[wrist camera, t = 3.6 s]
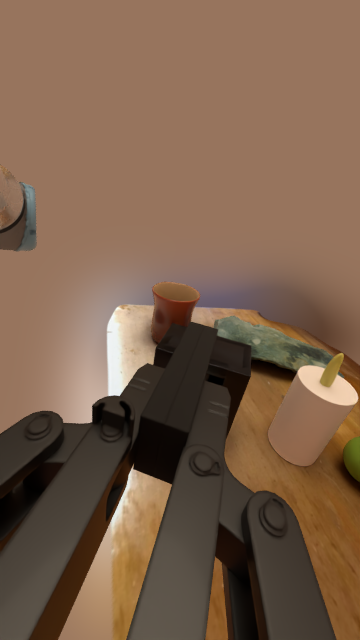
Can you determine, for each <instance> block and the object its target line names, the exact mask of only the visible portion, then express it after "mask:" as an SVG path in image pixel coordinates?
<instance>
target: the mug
mask: <svg viewBox="0 0 360 640" xmlns="http://www.w3.org/2000/svg"><path fill="white" fill-rule="evenodd" d="M152 291H153V296H154V302H155V303H154V312H153V318H152V324H151V332H152V337H153V339H154V340H155V341H156V342H158V343H159V342H160V341H161V339H162V338H163V336H164V335H165V333H166V332H167V330H168V329H169V327H170V326H171V324H172V323H174V324H178V325H181V326H185V327H188V325H189V323H190V322H191V317H192V312H193V310H194V307H195V305H196V304H197V302H198V300H199V298H200V294H199V292H198V291H197V290H195V289H194V288H192V287H190V286H187V285H184V284H180V283H174V282H161V283H158V284H156V285H154V286H153V289H152Z"/></svg>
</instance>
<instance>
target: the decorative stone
mask: <svg viewBox="0 0 360 640" xmlns="http://www.w3.org/2000/svg"><path fill="white" fill-rule="evenodd" d="M214 328H215V329H218V333H217V336H220V337H224V338H227V339H231V340H234V341H238V342H241V343H245V344H248V345H251V346H252V348H251V359H258V360H261V361H266V362H271V363H274V364H276V365H277V366H279V367H281V368H286V369H290V370H292V372H295V373H297V372H298V370H299V369H300V367H303V366H308V365H311V366H318V367H322V368H324V369H325V368H326V366H327V365H328V363H329V362H330V361H331V360H332V359H333V356H332V355H330V354H328V352H327V351H325V350H323V349H319V348H315V347H313V346H311V345H309V344H306V343H303V342H301V341H299V340H296V339H293V338H291V337H288V336H286V335H285V334H283V333H282V332H280V331H278V330H276V329H274V328H270V327H267V326H263V325H255V326H253V325H251V324H250V323H249V322H244V321H242V320H240V319H239V318H238V317H235V316H230V317H226V318H223V319H220V320H215V323H214ZM337 375H339V376H340V377H342V378H344V376H343V375H342V374H341V373H340V372H338V373H337Z"/></svg>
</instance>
